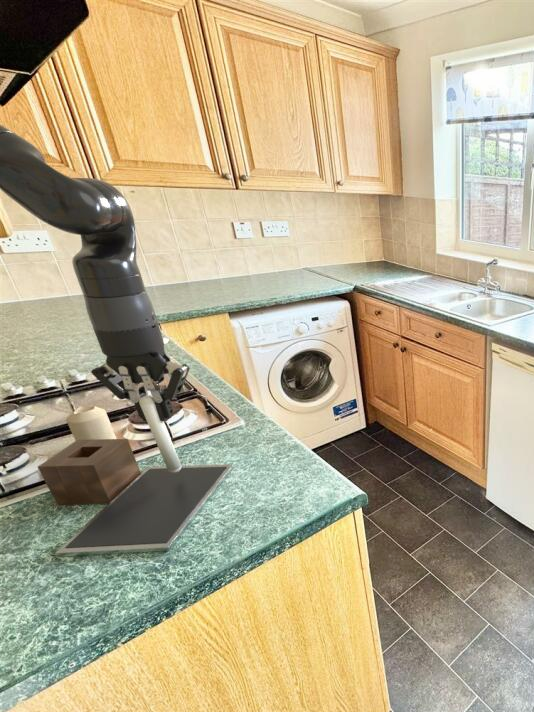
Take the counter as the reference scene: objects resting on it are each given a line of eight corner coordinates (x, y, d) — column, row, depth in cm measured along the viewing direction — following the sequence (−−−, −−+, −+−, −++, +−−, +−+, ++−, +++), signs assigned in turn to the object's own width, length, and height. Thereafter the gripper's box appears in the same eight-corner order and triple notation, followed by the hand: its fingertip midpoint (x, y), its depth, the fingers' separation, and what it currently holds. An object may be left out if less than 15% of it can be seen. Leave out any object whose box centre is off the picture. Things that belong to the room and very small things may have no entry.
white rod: (167, 475, 75) (134, 399, 68) (173, 467, 77) (142, 393, 69) (179, 474, 76) (147, 399, 68) (185, 467, 77) (155, 393, 70)
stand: (57, 505, 70) (37, 466, 67) (93, 476, 77) (77, 439, 74) (110, 503, 71) (93, 465, 68) (141, 474, 79) (127, 438, 75)
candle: (83, 450, 84) (63, 406, 80) (119, 441, 88) (102, 399, 83) (82, 463, 80) (62, 418, 76) (120, 453, 84) (103, 410, 80)
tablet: (56, 557, 61) (54, 552, 61) (149, 469, 80) (148, 466, 80) (169, 551, 63) (168, 546, 63) (234, 467, 82) (233, 463, 82)
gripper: (53, 328, 60) (96, 431, 67) (159, 329, 62) (190, 430, 69) (93, 313, 67) (129, 409, 74) (188, 315, 69) (213, 408, 76)
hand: (158, 418), depth 72 cm, fingers closed on white rod, 2 cm apart
